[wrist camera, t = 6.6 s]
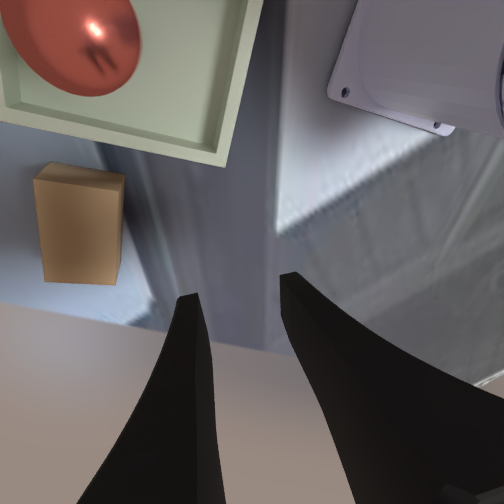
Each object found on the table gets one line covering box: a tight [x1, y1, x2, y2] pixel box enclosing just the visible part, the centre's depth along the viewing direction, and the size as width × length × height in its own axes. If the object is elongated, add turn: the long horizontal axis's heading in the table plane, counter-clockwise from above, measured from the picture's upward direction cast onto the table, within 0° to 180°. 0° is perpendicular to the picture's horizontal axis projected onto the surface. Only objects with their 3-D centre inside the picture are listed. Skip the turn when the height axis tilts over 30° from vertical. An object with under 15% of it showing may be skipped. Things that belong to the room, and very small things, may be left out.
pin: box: [0, 0, 143, 97], centre depth 10 cm, size 3×3×7 cm
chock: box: [33, 162, 125, 285], centre depth 17 cm, size 4×6×3 cm, turn 165°
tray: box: [0, 0, 263, 168], centre depth 13 cm, size 10×8×2 cm
